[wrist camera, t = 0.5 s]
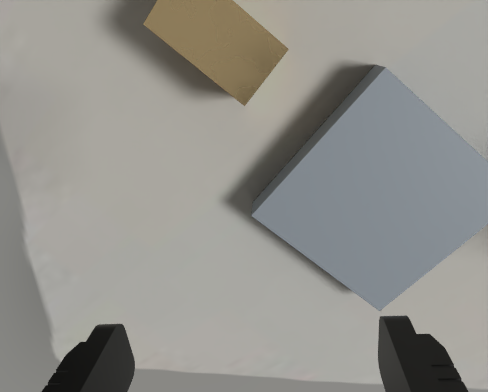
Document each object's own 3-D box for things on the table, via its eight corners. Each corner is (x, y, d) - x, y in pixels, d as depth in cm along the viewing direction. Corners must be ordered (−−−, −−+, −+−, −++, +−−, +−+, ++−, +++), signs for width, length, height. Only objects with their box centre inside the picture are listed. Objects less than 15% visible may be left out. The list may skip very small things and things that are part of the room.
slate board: (375, 64, 30) (385, 67, 27) (503, 181, 33) (524, 195, 30) (252, 202, 36) (251, 215, 33) (371, 291, 39) (379, 311, 36)
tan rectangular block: (197, -30, 29) (182, -43, 24) (286, 47, 30) (288, 49, 26) (162, 26, 30) (143, 24, 26) (248, 96, 32) (244, 106, 27)
